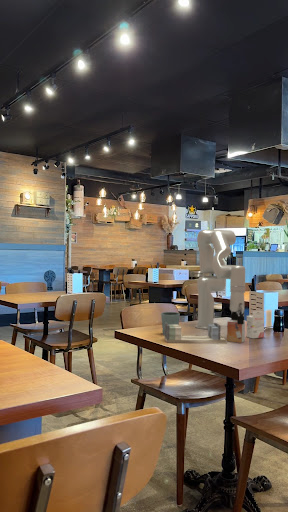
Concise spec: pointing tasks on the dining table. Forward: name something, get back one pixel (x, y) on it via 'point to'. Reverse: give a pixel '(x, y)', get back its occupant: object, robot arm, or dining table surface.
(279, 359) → the dining table surface
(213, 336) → the bookshelf
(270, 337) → the dining table surface
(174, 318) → the grey green cup
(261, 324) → the ink cartridge box
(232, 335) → the small box
